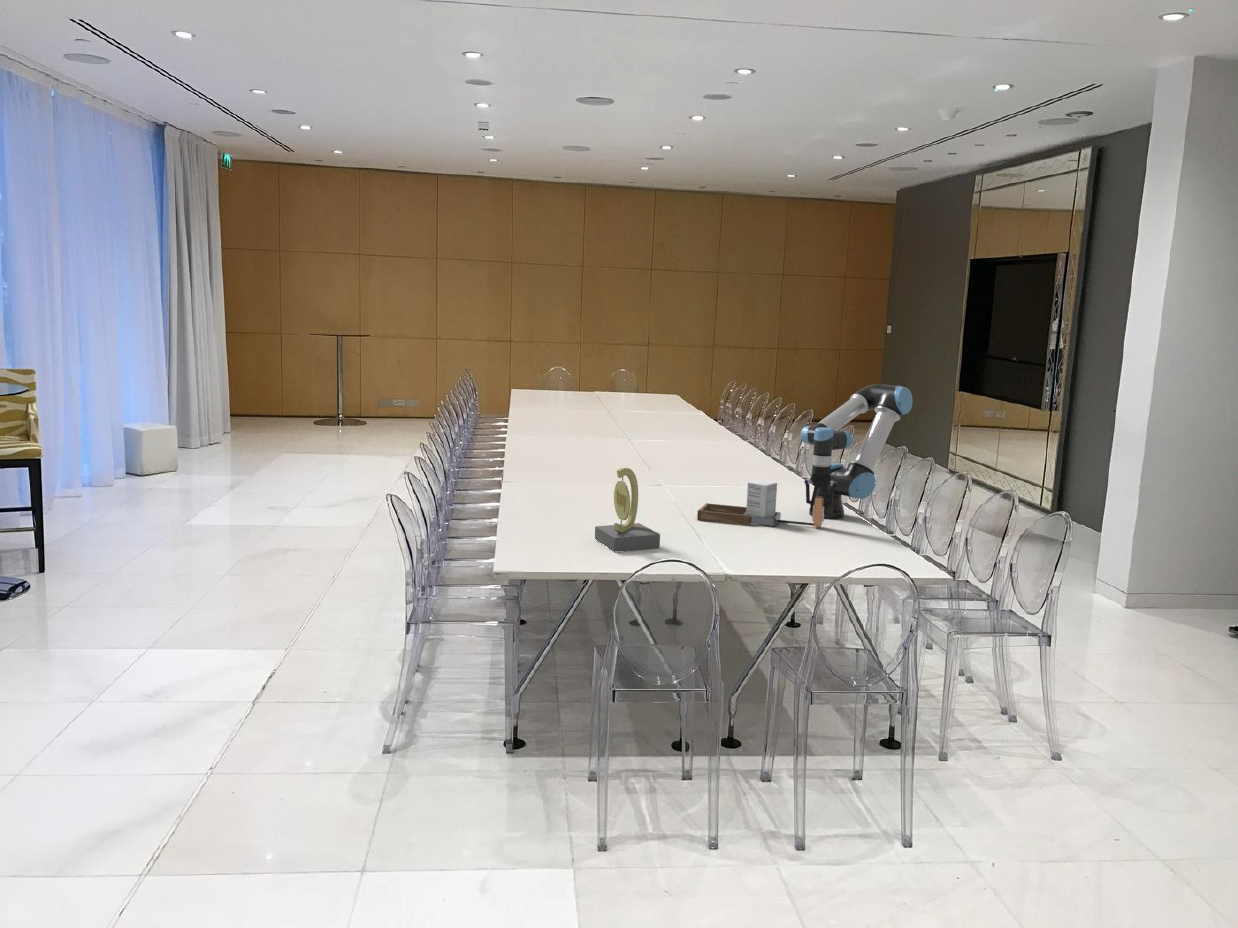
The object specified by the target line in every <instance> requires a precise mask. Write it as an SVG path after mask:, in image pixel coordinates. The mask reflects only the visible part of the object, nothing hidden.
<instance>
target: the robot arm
mask: <svg viewBox="0 0 1238 928" xmlns="http://www.w3.org/2000/svg"><path fill="white" fill-rule="evenodd" d="M912 408H913V394H912V392H911V391H910V389H909V388H908V387H905V386H902V385H890V384H884V383H873V384H870V385H868V386H865V387H863V388H861V389H859V390H858V391H856V392H854V393H853V394H852V395H851V396H850V397H849V400H847V401H846V402H844V403H843V404H842V405H841V406H839V407H838V408H837V409H835V410H833V411H832V412H831V413H829V414H828V415H827V416H825V417H824V418H822V419H821V420H820V421H819V422H818V423H816V424H815V425H813V426H812V425H807V426H804V427H803V428H802V429H801V431H800V439H801V442H803V443H804V444H808V445H810V446H812V445H813V453H812V454H813V455H812V466H811V467H812V468H811V476H810V478H805V479H804V485H805V503H807V504H808V505H809V511H808V514H809V516H811V517H812V519H811V521H812V522H814V509H815V498H816V496H823V498H824V502H823V506H822V518H821V522H822V523H824V521H825V519H828V520H829V519H836V520H837V519H841V518H844V517H845V509H844V508H845V507H844V506H843V505H844V504H843V500H842V496H844V497H849V498H852V499H859V500H864V499H866V498H868V497H870V496H871V494H873V492H874V491H875V487H876V482H877V481H876V476H875V473H876V472H875V471H874V467H875V465H876V463H877V461H878V459H879V457H880V455H881V452H882V450H883V448H884V445H886V444H885V443H886V442H887V439H888V437H889V435H890V433H891V431H892V429H893V426H894V424H895V423H896V422H899V421H900V420H901V417H902V415H907V414H909V413H910V411H911V410H912ZM868 411H874V412H875V415H874V417H873V420H872V422H871V424H870V425H869V426H870V427H869V428H868V431H867V433H866V435H865V437H864V439H863V441H862V443H861V446H860V447H859V450H858V452H857V453H856V455H855V458H854V460H851V461H849V463H848V464H847V467H846V468H845V466H844V463H840V462H836V463H835V462H832V459H833V458H832V457H833V451H836V450H845V449H848V448H850V447H851V446H852V444H853V435H852V434H851V433H850V431H847V430H840V429H842V428H843V427H844V426H845V425H847V424H848V423H849V422H851V421H852V420H853V419H855V418H856V417H857V416H859V415H860V414H866V413H867V412H868ZM811 483H812V484H813V491H812V496H811V495H810V494H811V491H810V489H811V488H810V487H811V486H810V484H811ZM810 496H811V497H810Z"/></svg>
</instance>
